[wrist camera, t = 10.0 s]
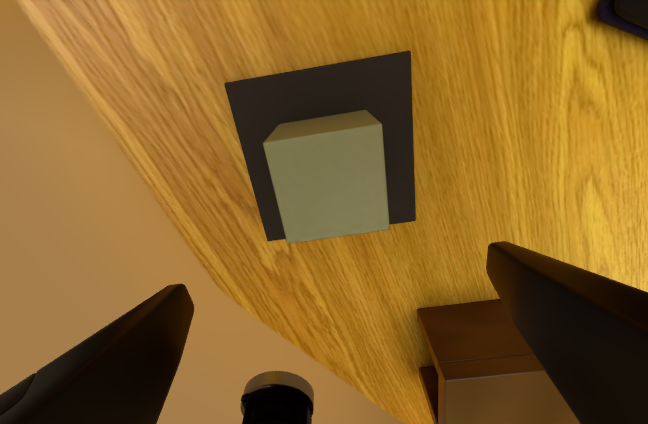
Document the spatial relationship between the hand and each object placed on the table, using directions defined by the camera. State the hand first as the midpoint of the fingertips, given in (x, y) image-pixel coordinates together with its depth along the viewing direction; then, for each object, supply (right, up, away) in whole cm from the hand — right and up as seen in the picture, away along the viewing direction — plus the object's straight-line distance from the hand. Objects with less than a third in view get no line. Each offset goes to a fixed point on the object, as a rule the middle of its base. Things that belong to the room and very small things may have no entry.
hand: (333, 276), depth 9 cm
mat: (0, +5, +9) cm, 11 cm away
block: (0, +5, +9) cm, 10 cm away
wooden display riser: (+14, -8, +16) cm, 22 cm away
